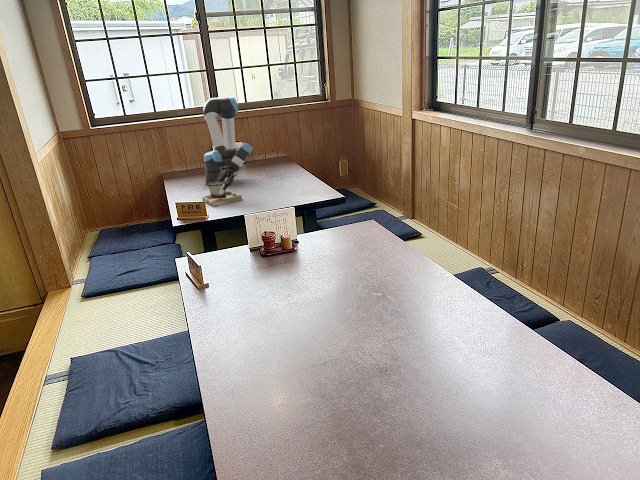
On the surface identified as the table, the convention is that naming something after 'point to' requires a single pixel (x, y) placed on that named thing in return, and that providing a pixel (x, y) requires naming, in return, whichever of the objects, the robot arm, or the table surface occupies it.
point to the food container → (216, 190)
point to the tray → (216, 202)
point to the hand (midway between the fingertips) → (216, 192)
